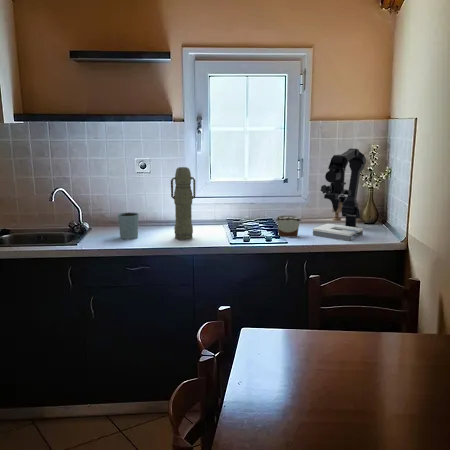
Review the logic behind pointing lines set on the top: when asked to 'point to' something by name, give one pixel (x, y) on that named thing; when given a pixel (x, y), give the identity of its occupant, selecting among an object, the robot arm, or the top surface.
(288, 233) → the food container
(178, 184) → the thermos
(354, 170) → the robot arm
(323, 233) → the keyhole plate
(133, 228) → the green plant pot
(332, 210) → the T-peg
